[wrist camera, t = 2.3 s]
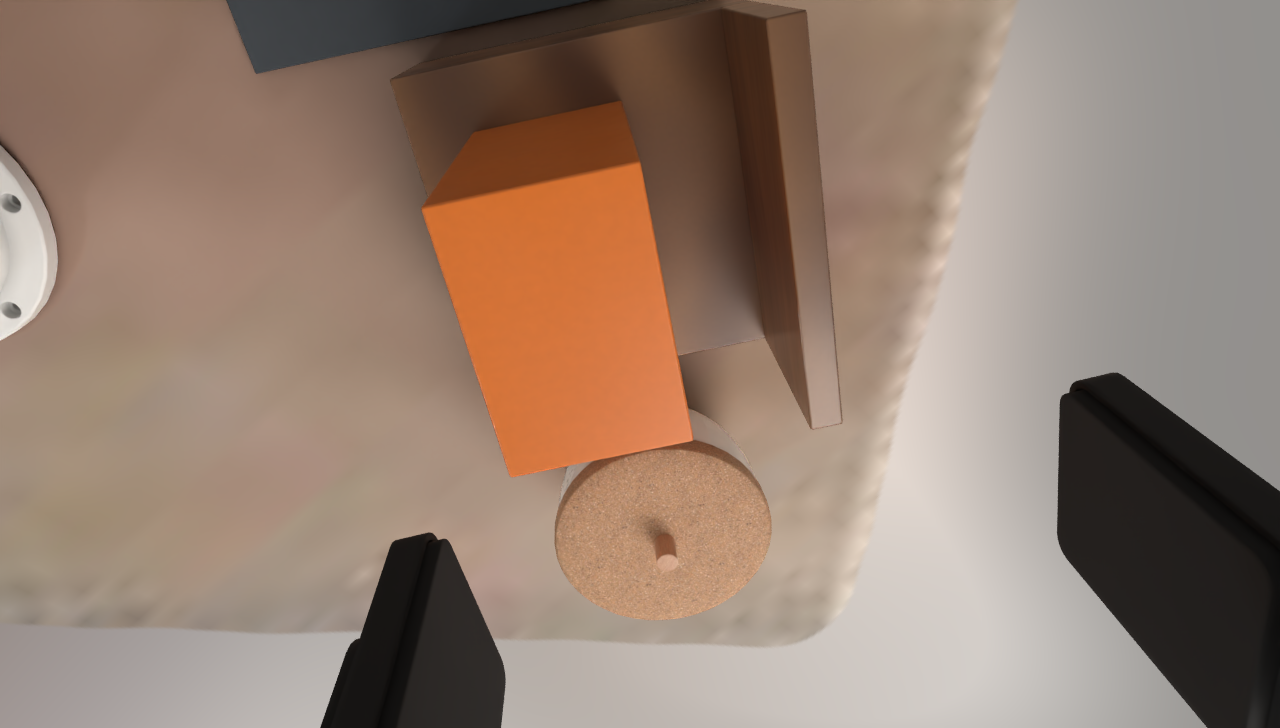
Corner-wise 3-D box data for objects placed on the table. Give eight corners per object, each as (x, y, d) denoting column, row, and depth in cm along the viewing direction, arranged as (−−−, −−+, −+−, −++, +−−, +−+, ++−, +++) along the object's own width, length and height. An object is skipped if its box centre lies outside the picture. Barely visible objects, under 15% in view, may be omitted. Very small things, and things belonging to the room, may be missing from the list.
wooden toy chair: (503, 339, 41) (468, 499, 29) (418, 63, 35) (327, 113, 22) (763, 286, 41) (843, 424, 28) (725, -4, 34) (807, 9, 22)
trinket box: (529, 492, 46) (517, 609, 37) (607, 342, 42) (613, 435, 33) (690, 549, 48) (712, 669, 40) (777, 413, 44) (822, 515, 36)
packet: (530, 335, 35) (509, 478, 25) (472, 132, 30) (419, 207, 21) (662, 308, 34) (694, 441, 25) (621, 100, 30) (640, 160, 20)
